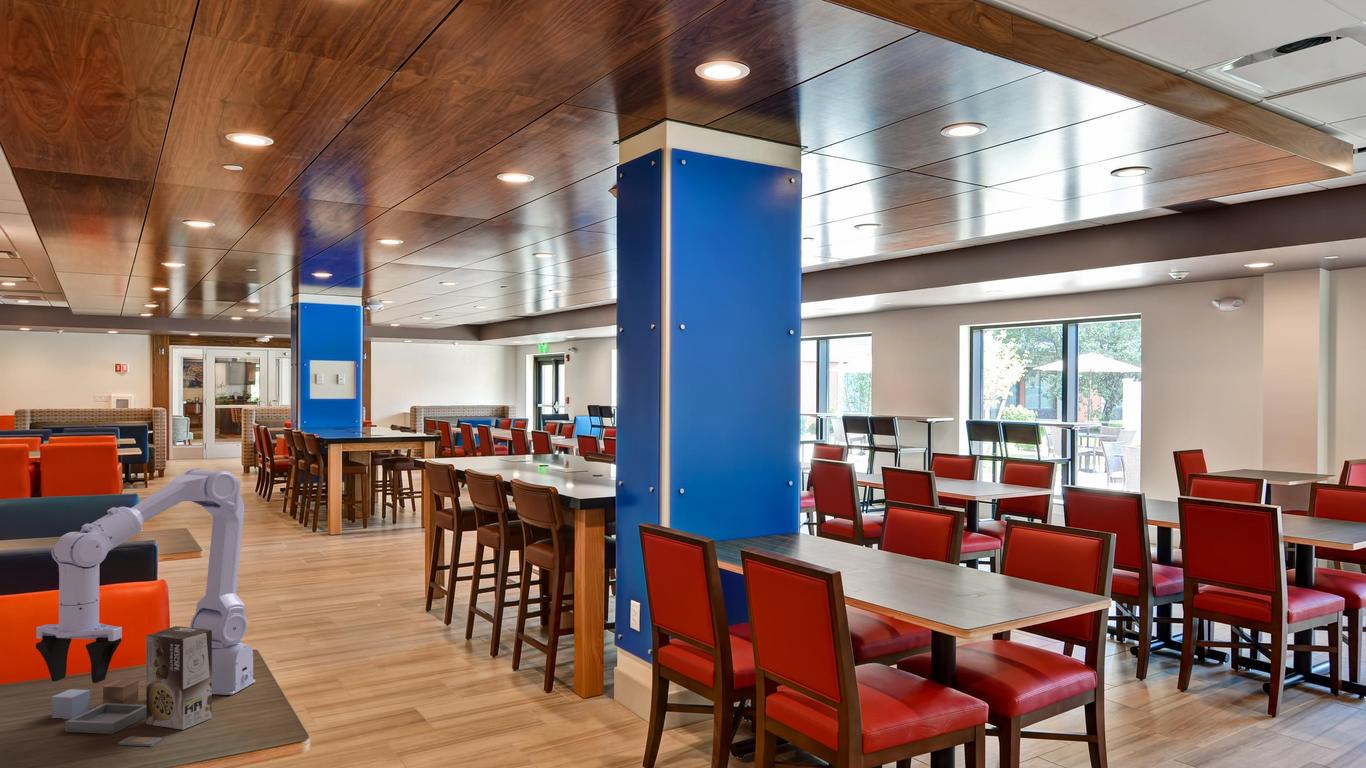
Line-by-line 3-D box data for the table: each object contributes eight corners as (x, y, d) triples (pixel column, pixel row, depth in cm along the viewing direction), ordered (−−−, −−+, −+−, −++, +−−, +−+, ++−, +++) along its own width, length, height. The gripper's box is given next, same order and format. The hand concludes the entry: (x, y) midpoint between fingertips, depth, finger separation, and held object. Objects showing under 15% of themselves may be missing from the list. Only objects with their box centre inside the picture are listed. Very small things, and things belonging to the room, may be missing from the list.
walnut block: (138, 701, 164) (138, 680, 164) (122, 708, 160) (122, 687, 160) (118, 700, 164) (119, 679, 164) (102, 707, 160) (103, 686, 160)
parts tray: (150, 714, 157) (150, 704, 157) (112, 733, 148) (113, 723, 148) (104, 712, 158) (105, 703, 158) (65, 731, 149) (65, 721, 149)
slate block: (89, 711, 159) (89, 690, 159) (72, 719, 155) (72, 697, 155) (69, 710, 159) (69, 689, 159) (51, 718, 155) (52, 696, 155)
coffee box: (213, 718, 155) (214, 629, 155) (182, 731, 149) (183, 638, 149) (176, 711, 158) (176, 624, 158) (143, 724, 152) (144, 633, 152)
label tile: (162, 740, 145) (162, 737, 145) (151, 746, 143) (151, 743, 143) (129, 738, 146) (129, 735, 146) (118, 744, 143) (118, 741, 143)
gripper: (21, 606, 145) (20, 686, 144) (99, 608, 143) (99, 689, 143) (55, 596, 152) (55, 673, 151) (131, 598, 150) (130, 676, 150)
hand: (78, 680), depth 148 cm, fingers open, 7 cm apart
